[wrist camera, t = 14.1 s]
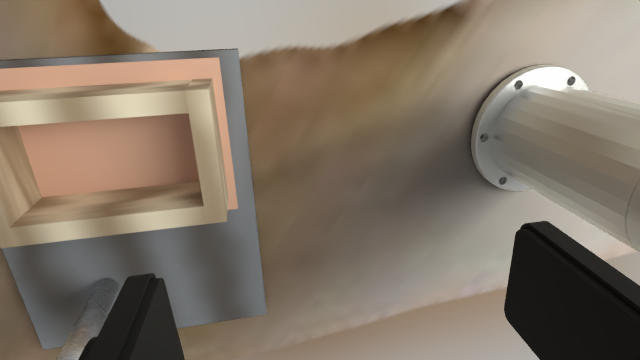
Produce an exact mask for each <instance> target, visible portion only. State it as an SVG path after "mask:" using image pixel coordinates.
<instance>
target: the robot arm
mask: <svg viewBox="0 0 640 360" xmlns="http://www.w3.org/2000/svg"><path fill="white" fill-rule="evenodd" d="M471 151H472V156H473V161H474V163H475V165H476V167H477V169H478V171H479V172H480V173H481V174H482V176H483V177H484V178H485V179H487V180H488V181H489V182H491V183H492V184H494V185H495V186H497V187H499V188H501V189H505V190H508V191H518V192H520V191H528V190H532V189H533V190H535V191H537V192H538V193H540V194H542V195H543V196H545V197H547V198H549V199H550V200H552V201H554V202H555V203H557V204H559V205H560V206H562V207H564V208H565V209H567V210H569V211H570V212H572V213H574V214H576V215H577V216H579V217H581V218H582V219H584V220H586V221H587V222H589V223H591V224H592V225H594V226H596V227H597V228H599V229H601V230H603V231H604V232H606V233H608V234H609V235H611V236H613V237H614V238H616V239H618V240H619V241H621V242H623V243H625V244H626V245H628V246H630V247H631V248H633V249H635V250H637V251H639V252H640V102H638V101H633V100H629V99H624V98H619V97H615V96H610V95H605V94H601V93H596V92H592V91H590V90H589V89H588V87H587V85H586V83H585V82H584V80H583V79H582V78H581V77H580V76H579V75H578V74H576V73H575V72H573V71H571V70H570V69H567V68H564V67H560V66H554V65H535V66H531V67H528V68H524V69H522V70H520V71H518V72H516V73H514V74H512V75H511V76H509V77H508V78H506V79H505V80H504V81H502V82H501V83H500V84H499V85H498V86H497V87H496V88H495V89H494V90H493V91H492V92H491V93H490V95H489V96H488V97H487V99H486V100H485V101H484V103H483V105H482V107H481V108H480V110H479V112H478V114H477V117H476V120H475V123H474V125H473V130H472V136H471ZM504 311H505V316H506V318H507V320H508V321H509V323H510V324H511V325H512V327H513V328H514V329H515V330H516V331H517V332H518V334H519V335H520V336H521V337H522V339H523V340H524V341H525V342H526V343H527V344H528V346H529V347H530V348H531V349H532V351H533V352H534V353H535V354H536V355H537V357H538V358H539V359H540V360H640V286H639V285H638V284H636V283H635V282H634V281H632V280H631V279H629V278H628V277H626V276H625V275H623V274H622V273H621V272H619V271H618V270H616V269H615V268H614V267H612V266H611V265H609V264H608V263H606V262H605V261H604V260H602V259H601V258H599V257H598V256H596V255H595V254H594V253H592V252H591V251H589V250H588V249H586V248H585V247H584V246H582V245H581V244H579V243H578V242H576V241H575V240H574V239H572V238H571V237H569V236H568V235H566V234H565V233H564V232H562V231H561V230H559V229H558V228H556V227H555V226H554V225H552V224H551V223H549V222H547V221H541V222H533V223H526V224H524V225H522V227H521V229H520V230H518V231H517V232H516V235H515V241H514V247H513V254H512V260H511V267H510V273H509V280H508V286H507V293H506V300H505V307H504ZM78 360H185V359H184V355H183V351H182V347H181V343H180V339H179V335H178V332H177V328H176V324H175V320H174V316H173V312H172V308H171V304H170V301H169V297H168V293H167V289H166V285H165V282H164V279H163V278H156V276H155V274H154V273H148V274H141V275H133V276H129V277H127V279H126V280H125V282H124V284H123V286H122V288H121V290H120V292H119V294H118V296H117V298H116V300H115V302H114V304H113V306H112V308H111V310H110V312H109V314H108V316H107V318H106V320H105V322H104V324H103V326H102V328H101V330H100V332H99V334H98V336H97V337H93V338H91V339H90V340H89V341H88V343H87V344H86V346H85V348H84V349H83V351H82V353H81V355H80V357H79V359H78Z"/></svg>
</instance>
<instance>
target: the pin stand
mask: <svg viewBox="0 0 640 360" xmlns="http://www.w3.org/2000/svg"><path fill="white" fill-rule="evenodd" d="M207 78H213V86H214V93H215V100H216V108H217V115H218V122H219V130H220V137H221V145H222V152H223V159H224V167H225V174H226V181H227V189H228V211H227V222H219V223H210V224H202V225H194V226H185V227H177V228H168V229H160V230H151V231H143V232H134V233H126V234H118V235H109V236H101V237H92V238H84V239H75V240H67V241H59V242H50V243H42V244H33V245H25V246H16V247H8V248H2V250H3V253H4V255H5V258H6V260H7V262H8V265H9V267H10V270H11V272H12V275H13V277H14V279H15V282H16V284H17V287H18V289H19V292H20V294H21V296H22V299H23V301H24V304H25V306H26V309H27V311H28V314H29V316H30V318H31V321H32V323H33V326H34V328H35V331H36V333H37V335H38V338H39V340H40V343H41V345H42V348H43V350H45V349H52V348H58V347H62V349H61V351H60V353H59V355H58V357H57V359H56V360H78V359H79V357H80V355H81V353H82V351H83V349H84V348H85V346H86V344H87V343H88V341H89V340H90V339H91V338H93V337H97V336H98V334H99V332H100V330H101V328H102V326H103V324H104V322H105V320H106V318H107V316H108V314H109V312H110V310H111V308H112V306H113V304H114V302H115V300H116V298H117V296H118V294H119V292H120V290H121V288H122V286H123V284H124V282H125V280H126V279H127V277H129V276H133V275H141V274H148V273H154V274H155V276H156V278H163V279H164V282H165V285H166V289H167V293H168V297H169V301H170V304H171V308H172V312H173V316H174V320H175V324H176V328H183V327H189V326H196V325H202V324H208V323H214V322H221V321H227V320H233V319H239V318H246V317H252V316H258V315H264V314H267V312H266V303H265V294H264V284H263V275H262V266H261V257H260V247H259V238H258V229H257V220H256V211H255V201H254V192H253V183H252V174H251V164H250V155H249V146H248V137H247V128H246V118H245V109H244V100H243V91H242V82H241V72H240V63H239V54H238V49H217V50H198V51H177V52H156V53H135V54H115V55H94V56H74V57H53V58H33V59H12V60H0V91H5V90H22V89H39V88H56V87H72V86H89V85H106V84H123V83H140V82H156V81H173V80H190V79H207ZM18 129H19V132H20V135H21V138H22V141H23V144H24V147H25V150H26V153H27V156H28V159H29V162H30V164H31V167H32V170H33V173H34V176H35V179H36V182H37V185H38V188H39V191H40V194H41V197H50V196H60V195H70V194H80V193H90V192H100V191H110V190H120V189H129V188H139V187H149V186H159V185H169V184H179V183H189V182H199V181H200V180H199V173H198V167H197V161H196V155H195V149H194V143H193V137H192V131H191V125H190V119H189V113H184V114H170V115H156V116H143V117H129V118H115V119H102V120H88V121H74V122H61V123H47V124H33V125H20V126H18Z"/></svg>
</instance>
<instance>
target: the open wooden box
mask: <svg viewBox="0 0 640 360" xmlns="http://www.w3.org/2000/svg"><path fill="white" fill-rule="evenodd" d="M184 113H189V119H190V125H191V131H192V137H193V143H194V149H195V155H196V161H197V167H198V173H199V180H200V181H199V182H189V183H179V184H169V185H159V186H149V187H139V188H129V189H120V190H110V191H100V192H90V193H80V194H70V195H60V196H50V197H41V194H40V191H39V188H38V185H37V182H36V179H35V176H34V173H33V170H32V167H31V164H30V162H29V159H28V156H27V153H26V150H25V147H24V144H23V141H22V138H21V135H20V132H19V129H18V126H20V125H33V124H47V123H61V122H74V121H88V120H102V119H115V118H129V117H143V116H156V115H170V114H184ZM227 211H228V189H227V181H226V174H225V167H224V159H223V152H222V145H221V137H220V130H219V122H218V115H217V108H216V100H215V93H214V86H213V78H207V79H190V80H173V81H156V82H140V83H123V84H106V85H89V86H72V87H56V88H39V89H22V90H5V91H0V248H8V247H16V246H25V245H33V244H42V243H50V242H59V241H67V240H75V239H84V238H92V237H101V236H109V235H118V234H126V233H134V232H143V231H151V230H160V229H168V228H177V227H185V226H194V225H202V224H210V223H219V222H227Z"/></svg>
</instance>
